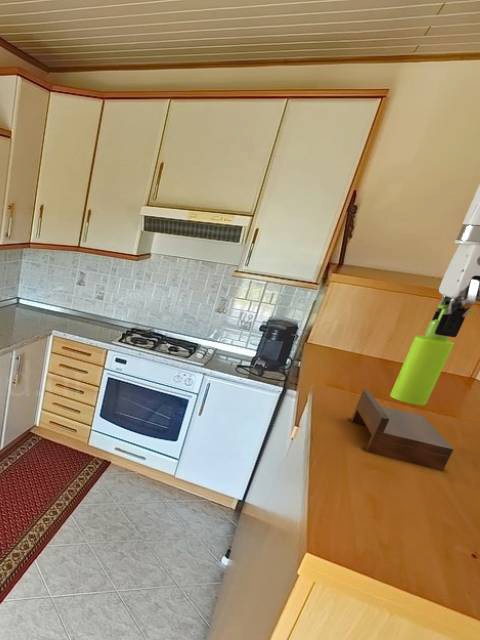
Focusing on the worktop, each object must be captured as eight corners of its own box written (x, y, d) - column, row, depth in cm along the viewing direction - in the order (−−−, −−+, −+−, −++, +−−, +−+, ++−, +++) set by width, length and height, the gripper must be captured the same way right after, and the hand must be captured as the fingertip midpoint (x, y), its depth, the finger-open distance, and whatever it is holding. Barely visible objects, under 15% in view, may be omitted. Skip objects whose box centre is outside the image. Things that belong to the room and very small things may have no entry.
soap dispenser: (437, 408, 98) (484, 311, 91) (396, 401, 100) (439, 305, 93) (424, 399, 103) (466, 306, 96) (385, 392, 105) (424, 300, 98)
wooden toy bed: (413, 435, 111) (429, 403, 108) (442, 472, 94) (461, 435, 91) (350, 420, 116) (363, 389, 113) (366, 452, 99) (382, 417, 96)
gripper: (533, 241, 81) (482, 346, 88) (493, 239, 95) (451, 330, 102) (474, 235, 85) (429, 337, 91) (444, 234, 98) (406, 323, 105)
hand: (441, 332), depth 96 cm, fingers closed on soap dispenser, 3 cm apart
